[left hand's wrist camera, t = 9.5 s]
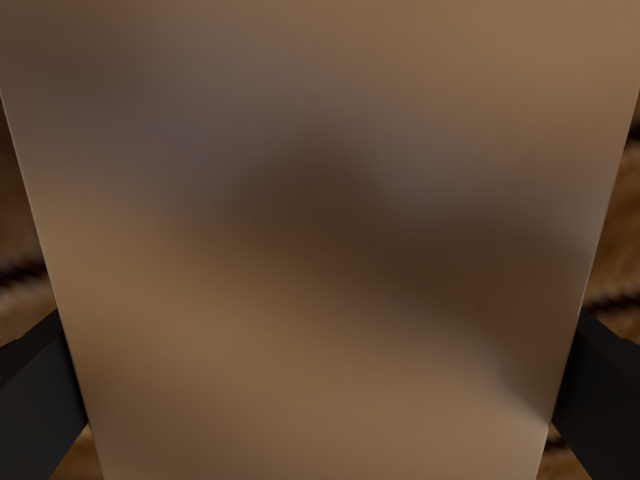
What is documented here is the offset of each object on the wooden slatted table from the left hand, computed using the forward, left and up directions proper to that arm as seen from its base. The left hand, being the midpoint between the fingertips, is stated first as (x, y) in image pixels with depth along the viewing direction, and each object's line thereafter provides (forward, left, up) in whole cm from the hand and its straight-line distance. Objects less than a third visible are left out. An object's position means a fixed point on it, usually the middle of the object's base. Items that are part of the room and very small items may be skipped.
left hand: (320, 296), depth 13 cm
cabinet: (+1, +5, -6) cm, 8 cm away
